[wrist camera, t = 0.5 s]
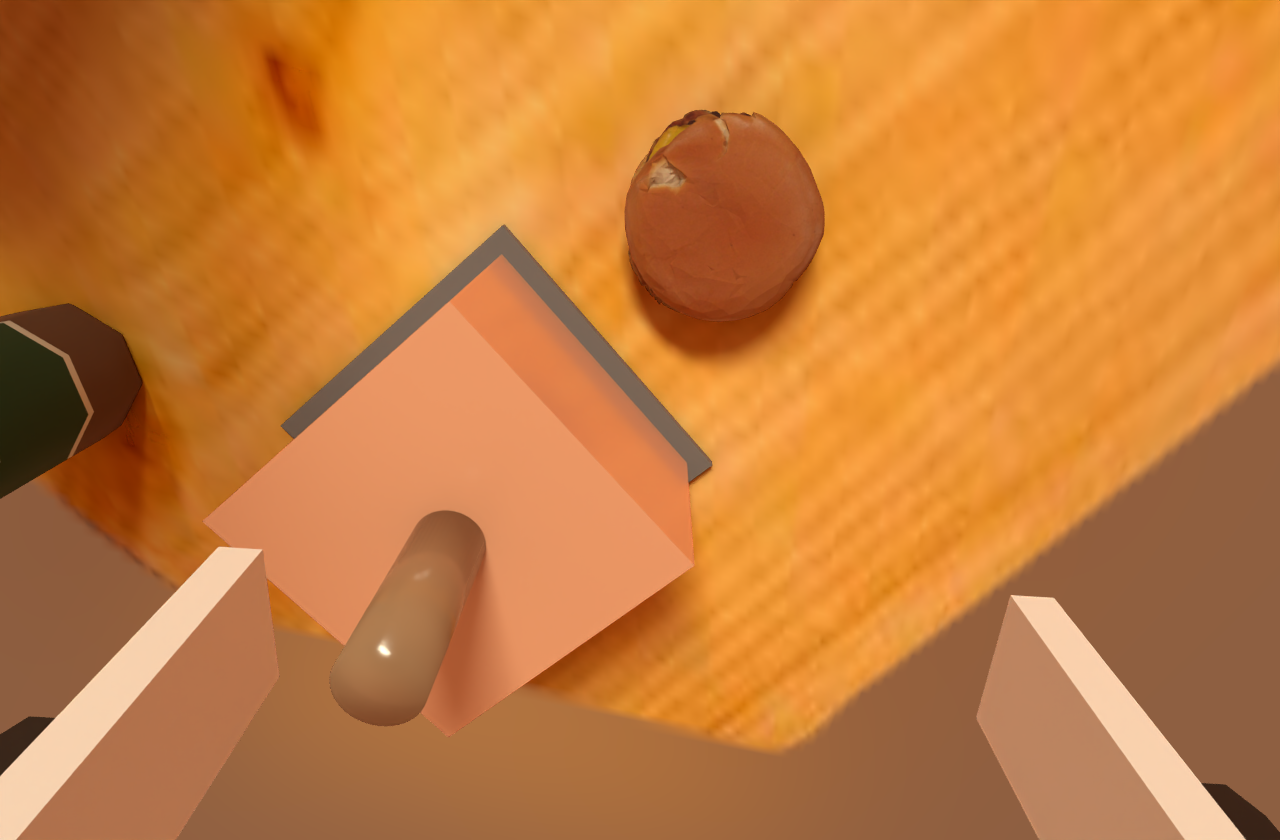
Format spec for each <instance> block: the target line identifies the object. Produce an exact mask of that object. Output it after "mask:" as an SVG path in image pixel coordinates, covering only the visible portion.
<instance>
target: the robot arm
mask: <svg viewBox="0 0 1280 840" xmlns="http://www.w3.org/2000/svg"><path fill="white" fill-rule="evenodd" d="M279 677H280V676H279V669H278V661H277V654H276V646H275V638H274V631H273V623H272V616H271V608H270V600H269V593H268V585H267V578H266V570H265V563H264V555H263V549H247V548H231V547H218V548H217V549H216V550H215V551H214V552H213V553H212V554H211V555H210V556H209V557H208V558H207V559H206V561H205V562H204V563H203V564H202V565H201V566H200V567H199V568H198V569H197V570H196V571H195V572H194V573H193V574H192V575H191V576H190V577H189V578H188V579H187V580H186V582H185V583H184V584H183V585H182V586H181V587H180V588H179V589H178V590H177V591H176V592H175V593H174V594H173V595H172V596H171V597H170V598H169V599H168V600H167V602H166V603H165V604H164V605H163V606H162V607H161V608H160V609H159V610H158V611H157V612H156V613H155V614H154V615H153V616H152V617H151V619H150V620H148V621H147V623H146V624H145V625H144V626H143V627H142V628H141V629H140V630H139V631H138V632H137V633H136V634H135V635H134V636H133V637H132V638H131V639H130V640H129V641H128V643H127V644H126V645H125V646H124V647H123V648H122V649H121V650H120V651H119V652H118V653H117V654H116V655H115V656H114V657H113V658H112V659H111V660H110V662H109V663H108V664H107V665H106V666H105V667H104V668H103V669H102V670H101V671H100V672H99V673H98V674H97V675H96V676H95V677H94V678H93V679H92V680H91V681H90V682H89V683H88V684H87V686H86V687H85V688H84V689H83V690H82V691H81V692H80V693H79V694H78V695H77V696H76V697H75V698H74V699H73V700H72V701H71V702H70V703H69V705H68V706H67V707H66V708H65V709H64V710H63V711H62V712H61V713H60V714H59V715H58V716H57V717H56V718H45V717H28V718H26V719H24V720H23V721H21V722H20V723H18V724H16V725H15V726H13V727H12V728H10V729H8V730H7V731H5V732H3V733H2V734H0V840H176V838H177V837H178V835H179V834H180V832H181V831H182V829H183V828H184V826H185V824H186V823H187V821H188V820H189V818H190V817H191V815H192V813H193V812H194V810H195V809H196V807H197V806H198V804H199V802H200V801H201V799H202V798H203V796H204V795H205V793H206V791H207V790H208V788H209V787H210V785H211V783H212V782H213V780H214V779H215V777H216V775H217V774H218V772H219V771H220V769H221V767H222V766H223V765H224V763H225V762H226V760H227V758H228V757H229V755H230V754H231V752H232V750H233V749H234V747H235V746H236V744H237V743H238V741H239V739H240V738H241V736H242V735H243V733H244V732H245V730H246V729H247V727H248V725H249V724H250V722H251V721H252V719H253V718H254V716H255V714H256V713H257V711H258V710H259V708H260V707H261V705H262V703H263V702H264V700H265V699H266V697H267V696H268V694H269V692H270V691H271V689H272V688H273V686H274V685H275V683H276V681H277V680H278V678H279ZM976 719H977V721H978V722H979V724H980V727H981V728H982V730H983V732H984V734H985V736H986V738H987V740H988V742H989V744H990V746H991V748H992V749H993V752H994V753H995V756H996V757H997V759H998V761H999V763H1000V765H1001V767H1002V769H1003V771H1004V773H1005V775H1006V777H1007V779H1008V780H1009V782H1010V785H1011V786H1012V788H1013V790H1014V792H1015V794H1016V796H1017V798H1018V800H1019V802H1020V803H1021V806H1022V808H1023V810H1024V812H1025V813H1026V815H1027V817H1028V819H1029V821H1030V823H1031V825H1032V827H1033V829H1034V831H1035V833H1036V835H1037V837H1038V839H1039V840H1280V832H1279V831H1278V830H1277V829H1276V827H1275V826H1274V825H1273V824H1272V823H1271V822H1270V820H1269V819H1268V818H1267V817H1266V816H1265V815H1264V814H1263V813H1261V812H1260V811H1259V810H1258V809H1256V808H1255V807H1254V806H1252V805H1251V804H1250V803H1249V802H1247V801H1246V800H1244V799H1243V798H1242V797H1241V796H1239V795H1238V794H1237V793H1236V792H1234V791H1233V790H1232V789H1230V788H1229V787H1228V786H1227V785H1223V784H1206V783H1200V782H1199V780H1198V779H1197V778H1196V777H1195V775H1194V774H1193V773H1192V771H1191V770H1190V769H1189V768H1188V766H1187V765H1186V764H1185V763H1184V761H1183V760H1182V759H1181V758H1180V756H1179V755H1178V754H1177V753H1176V751H1175V750H1174V749H1173V748H1172V746H1171V745H1170V744H1169V742H1168V741H1167V740H1166V739H1165V737H1164V736H1163V735H1162V734H1161V732H1160V731H1159V730H1158V729H1157V727H1156V726H1155V725H1154V723H1153V722H1152V721H1151V720H1150V718H1149V717H1148V716H1147V715H1146V713H1145V712H1144V711H1143V710H1142V708H1141V707H1140V706H1139V705H1138V703H1137V702H1136V701H1135V700H1134V698H1133V697H1132V696H1131V695H1130V693H1129V692H1128V691H1127V690H1126V688H1125V687H1124V686H1123V684H1122V683H1121V682H1120V681H1119V679H1118V678H1117V677H1116V676H1115V675H1114V673H1113V672H1112V671H1111V669H1110V668H1109V667H1108V666H1107V664H1106V663H1105V662H1104V661H1103V659H1102V658H1101V657H1100V656H1099V654H1098V653H1097V652H1096V650H1095V649H1094V648H1093V647H1092V645H1091V644H1090V643H1089V642H1088V640H1087V639H1086V638H1085V637H1084V636H1083V634H1082V633H1081V632H1080V630H1079V629H1078V628H1077V627H1076V625H1075V624H1074V623H1073V622H1072V620H1071V619H1070V618H1069V617H1068V615H1067V614H1066V613H1065V611H1064V610H1063V609H1062V608H1061V606H1060V605H1059V604H1058V603H1057V601H1056V600H1055V599H1054V598H1046V597H1029V596H1013V595H1011V596H1010V599H1009V603H1008V607H1007V610H1006V614H1005V618H1004V621H1003V624H1002V628H1001V632H1000V635H999V639H998V642H997V646H996V649H995V653H994V656H993V660H992V663H991V667H990V670H989V674H988V678H987V681H986V685H985V688H984V692H983V695H982V699H981V703H980V706H979V709H978V713H977V717H976Z"/></svg>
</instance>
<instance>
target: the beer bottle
mask: <svg viewBox="0 0 1280 840" xmlns="http://www.w3.org/2000/svg"><path fill="white" fill-rule="evenodd" d="M141 384H142V381H141V379H140V376H139V374H138V371H137V369H136V367H135V364H134V362H133V359H132V357H131V354H130V352H129V350H128V347H127V345H126V342H125V340H124V338H123V335H122V334H121V333H119V332H117V331H116V330H114V329H112V328H111V327H109V326H107V325H106V324H104V323H102V322H101V321H99V320H97V319H96V318H94V317H92V316H91V315H89V314H87V313H86V312H84V311H82V310H81V309H79V308H77V307H76V306H74V305H71V304H69V303H68V304H63V305H57V306H51V307H46V308H40V309H35V310H29V311H23V312H18V313H13V314H9V315H5V316H1V317H0V498H2V497H3V496H6V495H7V494H9V493H11V492H12V491H14V490H16V489H18V488H19V487H21V486H23V485H24V484H26V483H28V482H29V481H31V480H33V479H35V478H36V477H38V476H40V475H41V474H43V473H45V472H46V471H48V470H50V469H52V468H53V467H55V466H57V465H58V464H60V463H62V462H63V461H65V460H67V459H68V458H70V457H72V456H74V455H75V454H77V453H79V452H80V451H82V450H84V449H85V448H87V447H89V446H91V445H92V444H94V443H96V442H97V441H99V440H101V439H102V438H104V437H105V436H107V435H108V434H109V433H111V432H112V431H114V430H115V429H117V428H118V427H119V426H121V425H122V423H123V421H124V419H125V417H126V415H127V413H128V411H129V409H130V407H131V405H132V403H133V401H134V399H135V397H136V395H137V393H138V390H139V388H140V386H141Z"/></svg>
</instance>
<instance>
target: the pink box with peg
mask: <svg viewBox="0 0 1280 840" xmlns="http://www.w3.org/2000/svg"><path fill="white" fill-rule="evenodd" d="M202 522H203V523H205V524H206V525H207V526H208V527H209V528H210V529H211V530H213V531H214V532H215V533H216V534H217V535H218V536H219V537H221V538H222V539H223V540H224V541H225V542H226V543H227V544H229V545H230V546H231V547H232V548H247V549H263V555H264V563H265V570H266V578H267V579H268V580H270V581H271V582H272V583H273V584H274V585H275V586H276V587H278V588H279V589H280V590H281V591H282V592H283V593H284V594H286V595H287V596H288V597H289V598H290V599H291V600H292V601H294V602H295V603H296V604H297V605H298V606H299V607H300V608H302V609H303V610H304V611H305V612H306V613H307V614H308V615H310V616H311V617H312V618H313V619H314V620H315V621H316V622H318V623H319V624H320V625H321V626H322V627H323V628H324V629H326V630H327V631H328V632H329V633H330V634H331V635H332V636H333V637H335V638H336V639H337V640H338V641H339V642H340V643H341V644H343V645H344V648H343V650H342V652H341V653H340V655H339V657H338V658H337V660H336V662H335V663H334V665H333V667H332V669H331V672H330V689H331V692H332V694H333V696H334V698H335V700H336V702H337V703H338V704H339V706H340V707H341V708H342V709H343V710H344V711H345V712H347V713H348V714H349V715H351V716H352V717H354V718H356V719H358V720H360V721H362V722H365V723H368V724H372V725H377V726H394V725H399V724H402V723H405V722H408V721H410V720H411V719H413V718H414V717H416V716H417V715H418V714H419V713H421V714H422V715H424V716H425V717H426V718H427V719H428V720H429V721H431V722H432V723H433V724H434V725H435V726H436V727H437V728H438V729H440V730H441V731H442V732H443V733H444V734H445V735H446V736H448V737H450V736H451V735H453V734H454V733H455V732H457V731H458V730H460V729H461V728H463V727H464V726H465V725H467V724H468V723H470V722H471V721H473V720H474V719H476V718H477V717H478V716H480V715H481V714H483V713H484V712H485V711H487V710H488V709H490V708H491V707H493V706H494V705H496V704H497V703H498V702H500V701H501V700H503V699H504V698H506V697H507V696H508V695H510V694H511V693H513V692H514V691H516V690H517V689H519V688H520V687H521V686H523V685H524V684H526V683H527V682H529V681H530V680H531V679H533V678H534V677H536V676H537V675H539V674H540V673H541V672H543V671H544V670H546V669H547V668H549V667H550V666H551V665H553V664H554V663H556V662H557V661H559V660H560V659H561V658H563V657H564V656H566V655H567V654H569V653H570V652H571V651H573V650H574V649H576V648H577V647H579V646H580V645H581V644H583V643H584V642H586V641H587V640H589V639H590V638H591V637H593V636H594V635H596V634H597V633H599V632H600V631H602V630H603V629H604V628H606V627H607V626H609V625H610V624H612V623H613V622H614V621H616V620H617V619H619V618H620V617H622V616H623V615H624V614H626V613H627V612H629V611H630V610H632V609H633V608H634V607H636V606H637V605H639V604H640V603H642V602H643V601H644V600H646V599H647V598H649V597H650V596H652V595H653V594H654V593H656V592H657V591H659V590H660V589H662V588H663V587H664V586H666V585H667V584H669V583H670V582H672V581H673V580H674V579H676V578H677V577H679V576H680V575H682V574H683V573H685V572H686V571H687V570H689V569H690V568H692V567H693V566H694V552H693V538H692V524H691V511H690V497H689V483H688V469H687V462H686V461H685V460H684V459H683V458H682V457H681V455H680V454H679V453H678V452H677V451H676V450H675V449H674V448H673V446H672V445H671V444H670V443H669V442H668V441H667V440H666V439H665V437H664V436H663V435H662V434H661V433H660V432H659V431H658V430H657V428H656V427H655V426H654V425H653V424H652V423H651V422H650V420H649V419H648V418H647V417H646V416H645V415H644V414H643V413H642V411H641V410H640V409H639V408H638V407H637V406H636V405H635V404H634V402H633V401H632V400H631V399H630V398H629V397H628V396H627V395H626V393H625V392H624V391H623V390H622V389H621V388H620V387H619V386H618V384H617V383H616V382H615V381H614V380H613V379H612V378H611V377H610V375H609V374H608V373H607V372H606V371H605V370H604V369H603V368H602V366H601V365H600V364H599V363H598V362H597V361H596V360H595V358H594V357H593V356H592V355H591V354H590V353H589V352H588V351H587V349H586V348H585V347H584V346H583V345H582V344H581V343H580V342H579V340H578V339H577V338H576V337H575V336H574V335H573V334H572V333H571V331H570V330H569V329H568V328H567V327H566V326H565V325H564V324H563V322H562V321H561V320H560V319H559V318H558V317H557V316H556V315H555V313H554V312H553V311H552V310H551V309H550V308H549V307H548V306H547V304H546V303H545V302H544V301H543V300H542V299H541V298H540V296H539V295H538V294H537V293H536V292H535V291H534V290H533V289H532V287H531V286H530V285H529V284H528V283H527V282H526V281H525V280H524V278H523V277H522V276H521V275H520V274H519V273H518V272H517V271H516V269H515V268H514V267H513V266H512V265H511V264H510V263H509V262H508V260H507V259H506V258H505V257H504V256H503V255H502V254H501V255H500V256H499V257H498V258H497V259H496V260H494V261H493V262H492V263H491V264H490V265H489V266H488V267H487V268H485V269H484V270H483V271H482V272H481V273H480V274H479V275H478V276H476V277H475V278H474V279H473V280H472V281H471V282H470V283H469V284H467V285H466V286H465V287H464V288H463V289H462V290H461V291H460V292H459V293H457V294H456V295H455V296H454V297H453V298H452V299H451V300H450V301H448V302H447V303H446V304H445V305H444V306H443V307H442V308H441V309H439V310H438V311H437V312H436V313H435V314H434V315H433V316H432V317H430V318H429V319H428V320H427V321H426V322H425V323H424V324H423V325H421V326H420V327H419V328H418V329H417V330H416V331H415V332H414V333H412V334H411V335H410V336H409V337H408V338H407V339H406V340H405V341H403V342H402V343H401V344H400V345H399V346H398V347H397V348H396V349H394V350H393V351H392V352H391V353H390V354H389V355H388V356H387V357H385V358H384V359H383V360H382V361H381V362H380V363H379V364H378V365H376V366H375V367H374V368H373V369H372V370H371V371H370V372H369V373H368V374H366V375H365V376H364V377H363V378H362V379H361V380H360V381H359V382H357V383H356V384H355V385H354V386H353V387H352V388H351V389H350V390H348V391H347V392H346V393H345V394H344V395H343V396H342V397H341V398H339V399H338V400H337V401H336V402H335V403H334V404H333V405H332V406H330V407H329V408H328V409H327V410H326V411H325V412H324V413H323V414H321V415H320V416H319V417H318V418H317V419H316V420H315V421H314V422H312V423H311V424H310V425H309V426H308V427H307V428H306V429H305V430H303V431H302V432H301V433H300V434H299V435H298V436H297V437H296V438H295V439H293V440H292V441H291V442H290V443H289V444H288V445H287V446H286V447H285V448H283V449H282V450H281V451H280V452H279V453H278V454H277V455H276V456H275V457H273V458H272V459H271V460H270V461H269V462H268V463H267V464H266V465H265V466H263V467H262V468H261V469H260V470H259V471H258V472H257V473H256V474H254V475H253V476H252V477H251V478H250V479H249V480H248V481H247V482H246V483H244V484H243V485H242V486H241V487H240V488H239V489H238V490H237V491H236V492H234V493H233V494H232V495H231V496H230V497H229V498H228V499H227V500H226V501H224V502H223V503H222V504H221V505H220V506H219V507H218V508H217V509H216V510H214V511H213V512H212V513H211V514H210V515H209V516H208V517H207V518H205V519H204V520H203V521H202Z"/></svg>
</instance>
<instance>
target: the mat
mask: <svg viewBox="0 0 1280 840" xmlns="http://www.w3.org/2000/svg"><path fill="white" fill-rule="evenodd" d="M501 254H502V255H503V256H504V257H505V258H506V259H507V260H508V262H509V263H510V264H511V265H512V266H513V267H514V268H515V269H516V271H517V272H518V273H519V274H520V275H521V276H522V277H523V278H524V280H525V281H526V282H527V283H528V284H529V285H530V286H531V287H532V289H533V290H534V291H535V292H536V293H537V294H538V295H539V296H540V298H541V299H542V300H543V301H544V302H545V303H546V304H547V306H548V307H549V308H550V309H551V310H552V311H553V312H554V313H555V315H556V316H557V317H558V318H559V319H560V320H561V321H562V322H563V324H564V325H565V326H566V327H567V328H568V329H569V330H570V331H571V333H572V334H573V335H574V336H575V337H576V338H577V339H578V340H579V342H580V343H581V344H582V345H583V346H584V347H585V348H586V349H587V351H588V352H589V353H590V354H591V355H592V356H593V357H594V358H595V360H596V361H597V362H598V363H599V364H600V365H601V366H602V368H603V369H604V370H605V371H606V372H607V373H608V374H609V375H610V377H611V378H612V379H613V380H614V381H615V382H616V383H617V384H618V386H619V387H620V388H621V389H622V390H623V391H624V392H625V393H626V395H627V396H628V397H629V398H630V399H631V400H632V401H633V402H634V404H635V405H636V406H637V407H638V408H639V409H640V410H641V411H642V413H643V414H644V415H645V416H646V417H647V418H648V419H649V420H650V422H651V423H652V424H653V425H654V426H655V427H656V428H657V430H658V431H659V432H660V433H661V434H662V435H663V436H664V437H665V439H666V440H667V441H668V442H669V443H670V444H671V445H672V446H673V448H674V449H675V450H676V451H677V452H678V453H679V454H680V455H681V457H682V458H683V459H684V460H685V461H686V462H687V469H688V483H689V482H690V481H691V480H693V479H694V478H695V477H697V476H698V475H700V474H701V473H702V472H704V471H705V470H706V469H708V468H709V467H710V466H712V461H711V460H710V459H709V458H708V457H707V455H706V454H705V453H704V452H703V451H702V450H701V449H700V447H699V446H698V445H697V444H696V443H695V442H694V441H693V439H692V438H691V437H690V436H689V435H688V434H687V433H686V431H685V430H684V429H683V428H682V427H681V426H680V425H679V423H678V422H677V421H676V420H675V419H674V418H673V417H672V415H671V414H670V413H669V412H668V411H667V410H666V409H665V407H664V406H663V405H662V404H661V403H660V402H659V401H658V399H657V398H656V397H655V396H654V395H653V394H652V393H651V391H650V390H649V389H648V388H647V387H646V386H645V385H644V383H643V382H642V381H641V380H640V379H639V378H638V377H637V375H636V374H635V373H634V372H633V371H632V370H631V369H630V367H629V366H628V365H627V364H626V363H625V362H624V361H623V359H622V358H621V357H620V356H619V355H618V354H617V353H616V351H615V350H614V349H613V348H612V347H611V346H610V345H609V343H608V342H607V341H606V340H605V339H604V338H603V337H602V335H601V334H600V333H599V332H598V331H597V330H596V329H595V327H594V326H593V325H592V324H591V323H590V322H589V321H588V319H587V318H586V317H585V316H584V315H583V314H582V313H581V311H580V310H579V309H578V308H577V307H576V306H575V305H574V303H573V302H572V301H571V300H570V299H569V298H568V297H567V295H566V294H565V293H564V292H563V291H562V290H561V289H560V287H559V286H558V285H557V284H556V283H555V282H554V281H553V279H552V278H551V277H550V276H549V275H548V274H547V273H546V271H545V270H544V269H543V268H542V267H541V266H540V265H539V263H538V262H537V261H536V260H535V259H534V258H533V257H532V255H531V254H530V253H529V252H528V251H527V250H526V249H525V247H524V246H523V245H522V244H521V243H520V242H519V241H518V239H517V238H516V237H515V236H514V235H513V234H512V233H511V231H510V230H509V229H508V228H507V227H506V226H505V225H503V226H502V227H500V228H499V229H498V230H497V231H496V232H495V233H494V234H493V235H492V236H491V237H489V238H488V239H487V240H486V241H485V242H484V243H483V244H482V245H481V246H479V247H478V248H477V249H476V250H475V251H474V252H473V253H472V254H471V255H469V256H468V257H467V258H466V259H465V260H464V261H463V262H462V263H461V264H459V265H458V266H457V267H456V268H455V269H454V270H453V271H452V272H451V273H449V274H448V275H447V276H446V277H445V278H444V279H443V280H442V281H441V282H440V283H438V284H437V285H436V286H435V287H434V288H433V289H432V290H431V291H430V292H428V293H427V294H426V295H425V296H424V297H423V298H422V299H421V300H420V301H418V302H417V303H416V304H415V305H414V306H413V307H412V308H411V309H410V310H408V311H407V312H406V313H405V314H404V315H403V316H402V317H401V318H400V319H398V320H397V321H396V322H395V323H394V324H393V325H392V326H391V327H390V328H389V329H387V330H386V331H385V332H384V333H383V334H382V335H381V336H380V337H379V338H377V339H376V340H375V341H374V342H373V343H372V344H371V345H370V346H369V347H367V348H366V349H365V350H364V351H363V352H362V353H361V354H360V355H359V356H357V357H356V358H355V359H354V360H353V361H352V362H351V363H350V364H349V365H347V366H346V367H345V368H344V369H343V370H342V371H341V372H340V373H339V374H338V375H336V376H335V377H334V378H333V379H332V380H331V381H330V382H329V383H328V384H326V385H325V386H324V387H323V388H322V389H321V390H320V391H319V392H318V393H316V394H315V395H314V396H313V397H312V398H311V399H310V400H309V401H308V402H306V403H305V404H304V405H303V406H302V407H301V408H300V409H299V410H298V411H296V412H295V413H294V414H293V415H292V416H291V417H290V418H289V419H288V420H287V421H285V422H284V423H283V424H282V425H281V427H282V428H283V429H284V430H285V431H286V432H287V433H288V434H289V435H291V436H292V437H293V438H294V439H295V438H296V437H297V436H298V435H299V434H300V433H301V432H302V431H303V430H305V429H306V428H307V427H308V426H309V425H310V424H311V423H312V422H314V421H315V420H316V419H317V418H318V417H319V416H320V415H321V414H323V413H324V412H325V411H326V410H327V409H328V408H329V407H330V406H332V405H333V404H334V403H335V402H336V401H337V400H338V399H339V398H341V397H342V396H343V395H344V394H345V393H346V392H347V391H348V390H350V389H351V388H352V387H353V386H354V385H355V384H356V383H357V382H359V381H360V380H361V379H362V378H363V377H364V376H365V375H366V374H368V373H369V372H370V371H371V370H372V369H373V368H374V367H375V366H376V365H378V364H379V363H380V362H381V361H382V360H383V359H384V358H385V357H387V356H388V355H389V354H390V353H391V352H392V351H393V350H394V349H396V348H397V347H398V346H399V345H400V344H401V343H402V342H403V341H405V340H406V339H407V338H408V337H409V336H410V335H411V334H412V333H414V332H415V331H416V330H417V329H418V328H419V327H420V326H421V325H423V324H424V323H425V322H426V321H427V320H428V319H429V318H430V317H432V316H433V315H434V314H435V313H436V312H437V311H438V310H439V309H441V308H442V307H443V306H444V305H445V304H446V303H447V302H448V301H450V300H451V299H452V298H453V297H454V296H455V295H456V294H457V293H459V292H460V291H461V290H462V289H463V288H464V287H465V286H466V285H467V284H469V283H470V282H471V281H472V280H473V279H474V278H475V277H476V276H478V275H479V274H480V273H481V272H482V271H483V270H484V269H485V268H487V267H488V266H489V265H490V264H491V263H492V262H493V261H494V260H496V259H497V258H498V257H499V256H500V255H501Z"/></svg>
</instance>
